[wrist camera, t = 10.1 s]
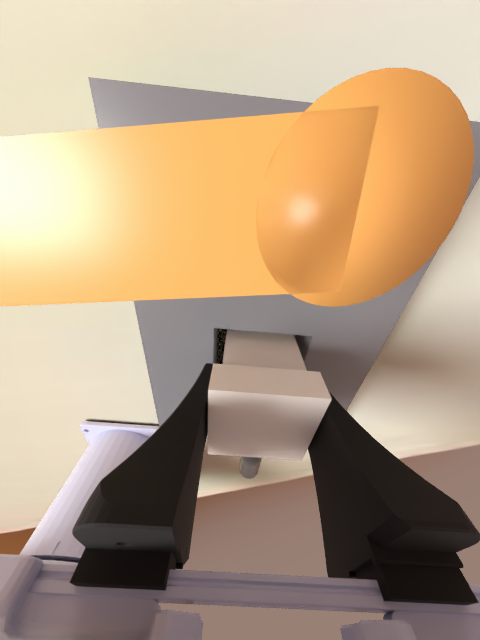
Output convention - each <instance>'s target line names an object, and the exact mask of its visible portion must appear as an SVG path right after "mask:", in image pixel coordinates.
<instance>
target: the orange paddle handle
mask: <svg viewBox="0 0 480 640" xmlns="http://www.w3.org/2000/svg"><path fill="white" fill-rule="evenodd" d="M473 164H474V143H473V136H472V129H471V126H470V122H469V119H468V116H467V113H466V111H465V110H464V108H463V106H462V104H461V102H460V100H459V99H458V98H457V96H456V95H455V94H454V93H453V92H452V90H451V89H450V88H449V87H448V86H446V85H445V84H444V83H442V82H441V81H440V80H438V79H437V78H435V77H433V76H431V75H429V74H426V73H424V72H422V71H417V70H412V69H408V68H385V69H380V70H374V71H369V72H367V73H364V74H361V75H358V76H355V77H353V78H350V79H349V80H347V81H345V82H343V83H341V84H339V85H337V86H335V87H334V88H332V89H331V90H330V91H328V92H327V93H325V94H324V95H323V96H321V97H320V98H319V99H317V100H316V101H315V102H314V103H313V104H312V105H311V106H310V107H309V108H308V109H306V110H305V111H304V112H296V113H284V114H272V115H260V116H248V117H236V118H224V119H212V120H200V121H188V122H176V123H164V124H152V125H140V126H127V127H115V128H103V129H91V130H79V131H67V132H55V133H43V134H31V135H19V136H7V137H0V306H18V305H42V304H66V303H89V302H113V301H136V300H160V299H183V298H207V297H230V296H254V295H278V294H291V295H292V296H294V297H296V298H298V299H300V300H302V301H305V302H307V303H311V304H314V305H320V306H328V307H339V306H348V305H353V304H358V303H362V302H365V301H368V300H371V299H373V298H376V297H378V296H380V295H383V294H384V293H386V292H388V291H390V290H392V289H394V288H395V287H397V286H398V285H400V284H401V283H403V282H404V281H405V280H407V279H408V278H409V277H411V276H412V275H413V274H414V273H416V272H417V271H418V270H419V269H420V268H421V267H422V266H423V265H424V264H425V263H426V262H427V261H428V260H429V259H430V258H431V257H432V255H433V254H434V253H435V252H436V251H437V249H438V248H439V247H440V245H441V244H442V243H443V242H444V240H445V239H446V237H447V236H448V234H449V232H450V231H451V229H452V228H453V226H454V224H455V222H456V220H457V218H458V216H459V214H460V212H461V210H462V207H463V204H464V202H465V199H466V197H467V193H468V190H469V186H470V182H471V177H472V171H473Z"/></svg>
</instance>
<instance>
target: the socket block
mask: <svg viewBox="0 0 480 640" xmlns="http://www.w3.org/2000/svg"><path fill="white" fill-rule="evenodd" d="M88 78H89V83H90V87H91V92H92V97H93V102H94V107H95V112H96V117H97V122H98V127H99V129H103V128H115V127H127V126H140V125H152V124H164V123H176V122H188V121H200V120H212V119H224V118H236V117H248V116H260V115H272V114H284V113H296V112H304V111H305V110H306V109H308V108H309V107H310V106H311V105H312V104H313V103H308V102H299V101H291V100H282V99H273V98H265V97H256V96H247V95H238V94H230V93H221V92H212V91H204V90H195V89H186V88H177V87H169V86H160V85H151V84H143V83H134V82H125V81H116V80H108V79H99V78H90V77H88ZM469 122H470V126H471V129H472V136H473V143H474V164H473V171H472V177H471V182H470V186H469V190H468V193H467V197H466V199H467V198H468V196H469V194H470V192H471V191H472V189H473V187H474V185H475V184H476V182H477V180H478V178H479V177H480V122H474V121H469ZM466 199H465V201H466ZM464 203H465V202H464ZM463 205H464V204H463ZM438 249H439V248H438ZM438 249H437V250H438ZM436 252H437V251H436ZM436 252H435V253H434V254H433V255H432V257H431V258H430V259H429V260H428V261H427V262H426V263H425V264H424V265H423V266H422V267H421V268H420V269H419V270H418V271H417V272H416V273H414V274H413V275H412V276H411V277H409V278H408V279H407V280H405V281H404V282H403V283H401V284H400V285H398V286H397V287H395V288H394V289H392V290H390V291H388V292H386V293H384V294H383V295H380V296H378V297H376V298H373V299H371V300H368V301H365V302H362V303H358V304H353V305H348V306H339V307H328V306H320V305H314V304H311V303H307V302H305V301H302V300H300V299H298V298H296V297H294V296H292V295H291V294H278V295H254V296H230V297H207V298H183V299H160V300H136V301H134V304H135V309H136V314H137V319H138V324H139V329H140V334H141V339H142V344H143V348H144V353H145V358H146V363H147V368H148V373H149V378H150V383H151V388H152V393H153V398H154V403H155V408H156V413H157V417H158V422H159V427H160V426H161V425H162V424H163V423H164V422H165V421H166V420H167V419H168V417H169V416H170V415H171V414H172V413H173V412H174V410H175V409H176V408H177V407H178V405H179V404H180V403H181V402H182V400H183V399H184V398H185V396H186V395H187V393H188V392H189V391H190V389H191V388H192V386H193V385H194V383H195V382H196V380H197V378H198V377H199V375H200V373H201V371H202V369H203V367H204V365H205V364H206V363H211V364H213V363H214V364H217V344H218V328H219V329H231V330H243V331H255V332H267V333H279V334H291V335H296V338H295V339H296V342H297V345H298V347H299V350H300V353H301V356H302V359H303V361H304V364H305V367H306V370H307V371H316V372H320V373H321V375H322V378H323V380H324V382H325V385H326V387H327V389H328V390H329V392H330V393H331V394H332V395H333V396H334V398H335V399H336V400H337V401H338V402H339V403H340V404H341V406H342V407H343V408H344V409H345V410H347V408H348V407H349V405H350V403H351V401H352V400H353V398H354V396H355V394H356V393H357V391H358V389H359V387H360V386H361V384H362V382H363V380H364V378H365V377H366V375H367V373H368V371H369V370H370V368H371V366H372V364H373V363H374V361H375V359H376V357H377V356H378V354H379V352H380V350H381V349H382V347H383V345H384V343H385V342H386V340H387V338H388V336H389V335H390V333H391V331H392V329H393V328H394V326H395V324H396V322H397V321H398V319H399V317H400V315H401V314H402V312H403V310H404V308H405V307H406V305H407V303H408V301H409V300H410V298H411V296H412V294H413V292H414V291H415V289H416V287H417V285H418V284H419V282H420V280H421V278H422V277H423V275H424V273H425V271H426V270H427V268H428V266H429V264H430V263H431V261H432V259H433V257H434V256H435V254H436ZM207 436H208V434H207Z"/></svg>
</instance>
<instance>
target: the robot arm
mask: <svg viewBox="0 0 480 640" xmlns="http://www.w3.org/2000/svg"><path fill="white" fill-rule="evenodd" d="M212 367H213V364H211V363H206V364H205V365H204V367H203V369H202V371H201V373H200V375H199V377H198V378H197V380H196V382H195V383H194V385H193V386H192V388H191V389H190V391H189V392H188V393H187V395H186V396H185V398H184V399H183V400H182V402H181V403H180V404H179V405H178V407H177V408H176V409H175V410H174V412H173V413H172V414H171V415H170V416H169V417H168V419H167V420H166V421H165V422H164V423H163V424H162V425H161V426H160V427H159V426H148V425H134V424H119V423H105V422H91V421H84V422H82V423H81V425H80V428H81V430H82V432H83V433H84V435H85V437H86V439H87V441H88V443H89V446H88V447H87V449H86V451H85V452H84V454H83V455H82V457H81V458H80V460H79V462H78V463H77V465H76V466H75V468H74V469H73V471H72V473H71V474H70V476H69V477H68V479H67V481H66V482H65V484H64V485H63V487H62V488H61V490H60V492H59V493H58V495H57V496H56V498H55V499H54V501H53V503H52V504H51V506H50V507H49V509H48V510H47V512H46V514H45V515H44V517H43V518H42V520H41V521H40V523H39V525H38V526H37V528H36V529H35V531H34V533H33V534H32V536H31V537H30V539H29V541H28V542H27V544H26V545H25V547H24V548H23V550H22V551H21V553H20V555H9V554H0V640H201V638H202V628H203V622H202V620H201V617H200V615H199V614H197V613H189V612H182V611H173V610H161V608H160V606H159V604H158V603H177V604H198V605H199V604H201V605H219V606H220V605H221V606H241V607H262V608H285V609H305V610H326V611H347V612H368V613H386V614H385V615H384V617H383V620H368V621H366V620H364V621H360V622H359V623H355V624H350V625H342V626H341V634H342V638H343V640H480V585H469V584H468V583H467V581H466V579H465V578H464V576H463V574H462V572H461V571H460V569H459V568H463V564H462V562H461V560H460V559H459V557H458V555H457V554H456V552H458V551H461V550H463V549H465V548H468V547H470V546H472V545H474V544H476V543H478V542H479V540H480V533H479V532H478V531H477V529H476V528H475V526H474V525H473V524H472V522H471V521H470V519H469V518H468V516H467V515H466V514H465V512H464V511H463V509H462V508H461V507H460V505H459V504H458V503H457V502H456V501H455V500H453V499H451V498H450V497H449V496H447V495H446V494H444V493H443V492H442V491H440V490H439V489H437V488H436V487H435V486H433V485H432V484H430V483H429V482H427V481H426V480H424V479H423V478H422V477H421V476H419V475H418V474H417V473H415V472H414V471H413V470H411V469H410V468H409V467H408V466H406V465H405V464H404V463H402V462H401V461H400V460H399V459H397V458H396V457H395V456H394V455H393V454H391V453H390V452H389V451H388V450H387V449H386V448H384V447H383V446H382V445H381V444H380V443H379V442H377V441H376V440H375V439H374V438H373V437H372V436H371V435H370V434H369V433H368V432H367V431H366V430H365V429H364V428H362V427H361V426H360V425H359V424H358V423H357V422H356V421H355V420H354V419H353V417H352V416H351V415H350V414H349V413H348V412H347V411H346V410H345V409H344V408H343V407H342V406H341V404H340V403H339V402H338V401H337V400H336V399H335V398H334V396H333V395H332V394H331V393H330V392H329V394H330V396H331V398H332V400H331V402H330V404H329V406H328V408H327V410H326V412H325V414H324V416H323V418H322V420H321V422H320V424H319V426H318V428H317V430H316V432H315V434H314V436H313V438H312V440H311V443H310V445H309V447H308V451H309V455H310V459H311V464H312V469H313V474H314V480H315V486H316V491H317V498H318V504H319V511H320V518H321V525H322V532H323V541H324V549H325V557H326V565H327V573H328V577H329V578H326V577H309V576H308V577H307V576H289V575H270V574H269V575H268V574H251V573H250V574H249V573H230V572H212V571H191V570H175V569H183V565H184V564H185V563H186V561H187V560H188V559H189V552H190V544H191V536H192V529H193V522H194V514H195V507H196V499H197V493H198V486H199V479H200V472H201V465H202V458H203V452H204V447H205V442H206V438H207V434H208V388H209V383H210V377H211V372H212ZM328 391H329V390H328Z"/></svg>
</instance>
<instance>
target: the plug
mask: <svg viewBox="0 0 480 640" xmlns="http://www.w3.org/2000/svg"><path fill="white" fill-rule="evenodd" d="M331 400H332V398H331V396H330V394H329V391H328V389H327V387H326V385H325V382H324V380H323V378H322V375H321V373H320V372H316V371H307V370H306V367H305V364H304V361H303V359H302V356H301V353H300V350H299V347H298V345H297V342H296V339H295V336H294V335H291V334H279V333H267V332H255V331H243V330H231V329H227V334H226V341H225V348H224V356H223V363H222V364H214V363H213V367H212V372H211V377H210V383H209V388H208V454H213V455H228V456H241V459H240V466H239V467H240V472H241V474H242V475H243V476H244V477H245V478H248V479H251V478H253V477H255V476H256V474H257V472H258V469H259V466H260V462H261V459H262V458H273V459H288V460H302V459H303V457H304V455H305V453H306V451H307V449H308V447H309V445H310V443H311V440H312V438H313V436H314V434H315V432H316V430H317V428H318V426H319V424H320V422H321V420H322V418H323V416H324V414H325V412H326V410H327V408H328V406H329V404H330V402H331Z"/></svg>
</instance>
